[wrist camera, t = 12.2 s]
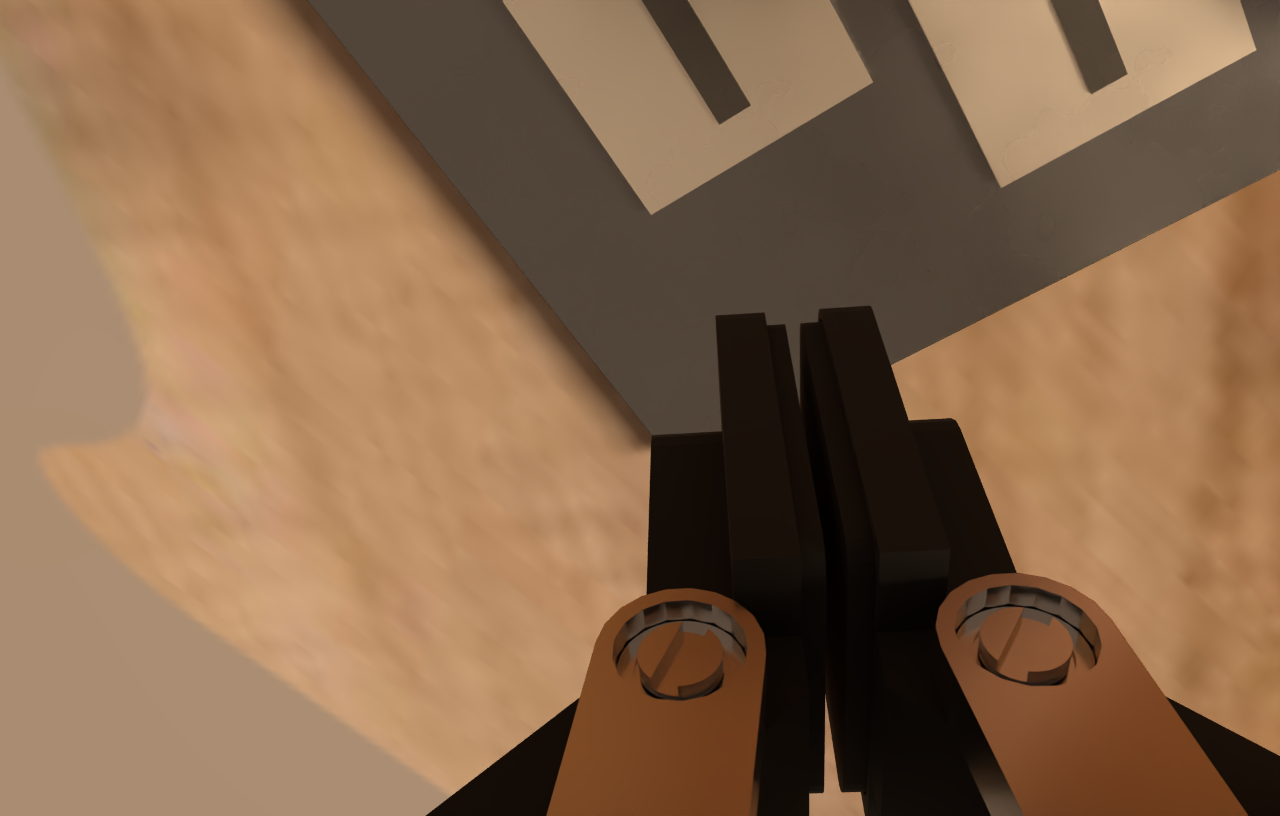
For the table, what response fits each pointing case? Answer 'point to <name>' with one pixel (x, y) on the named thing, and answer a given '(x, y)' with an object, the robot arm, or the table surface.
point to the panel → (816, 154)
